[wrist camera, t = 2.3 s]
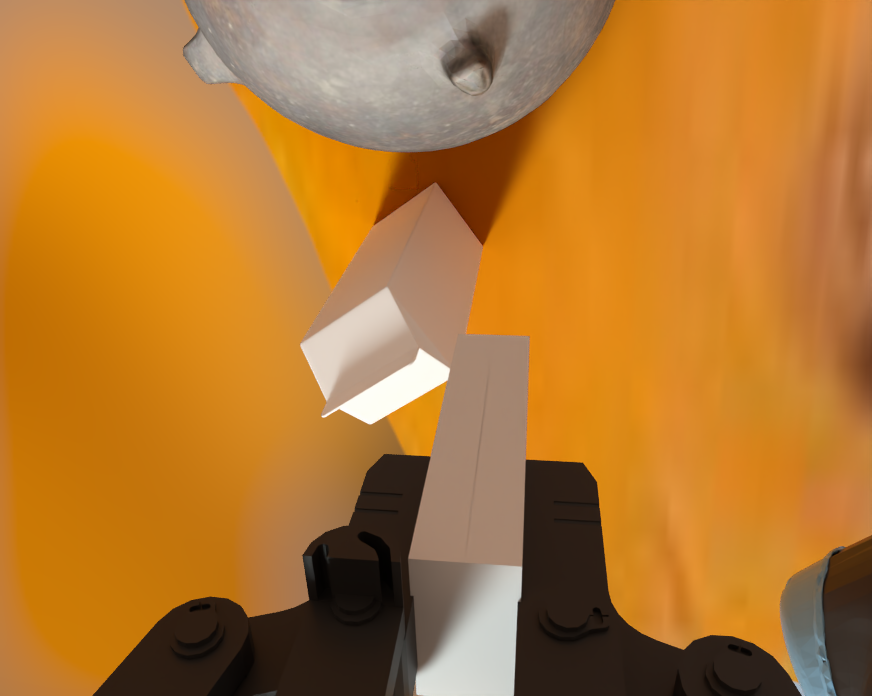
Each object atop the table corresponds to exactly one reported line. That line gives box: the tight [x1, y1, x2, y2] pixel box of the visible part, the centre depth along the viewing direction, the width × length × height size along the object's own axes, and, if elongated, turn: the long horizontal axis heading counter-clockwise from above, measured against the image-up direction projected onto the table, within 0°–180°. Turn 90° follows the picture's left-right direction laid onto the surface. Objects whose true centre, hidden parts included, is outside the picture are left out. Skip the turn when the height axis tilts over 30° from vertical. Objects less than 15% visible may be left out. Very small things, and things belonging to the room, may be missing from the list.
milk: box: [300, 182, 483, 424], centre depth 44 cm, size 6×6×22 cm
